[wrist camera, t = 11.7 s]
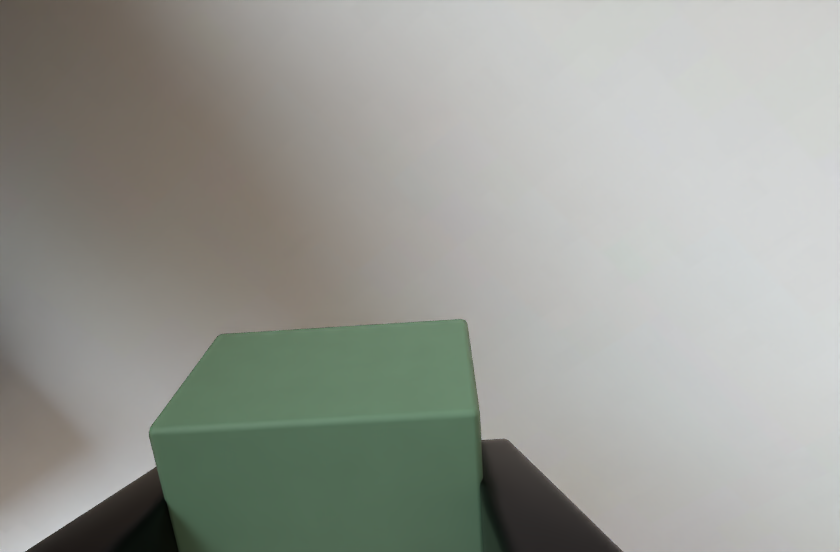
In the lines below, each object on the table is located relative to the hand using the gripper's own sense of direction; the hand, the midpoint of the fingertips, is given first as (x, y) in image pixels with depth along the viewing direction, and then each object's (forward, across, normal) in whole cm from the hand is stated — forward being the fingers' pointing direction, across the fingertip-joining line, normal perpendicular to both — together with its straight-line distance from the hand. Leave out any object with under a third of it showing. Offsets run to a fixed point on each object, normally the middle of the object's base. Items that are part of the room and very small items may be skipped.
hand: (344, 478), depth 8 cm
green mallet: (+1, 0, +2) cm, 3 cm away
